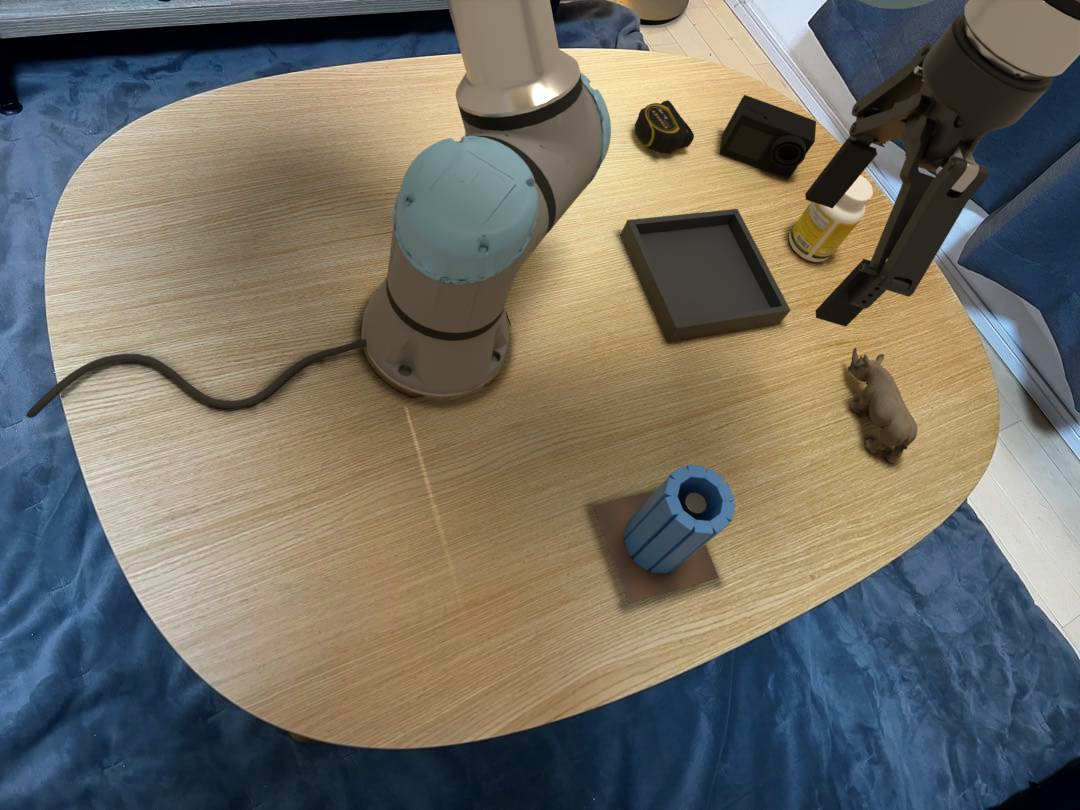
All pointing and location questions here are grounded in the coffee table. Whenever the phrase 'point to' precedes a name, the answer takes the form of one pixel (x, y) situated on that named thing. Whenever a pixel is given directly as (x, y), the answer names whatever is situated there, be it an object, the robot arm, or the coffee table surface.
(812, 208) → the pill bottle
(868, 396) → the rhino figurine
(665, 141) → the tape measure
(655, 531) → the blue grooved hollow cylinder
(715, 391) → the coffee table surface
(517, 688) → the coffee table surface
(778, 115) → the digital camera
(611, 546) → the stand
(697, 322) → the tray
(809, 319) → the coffee table surface
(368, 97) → the coffee table surface
